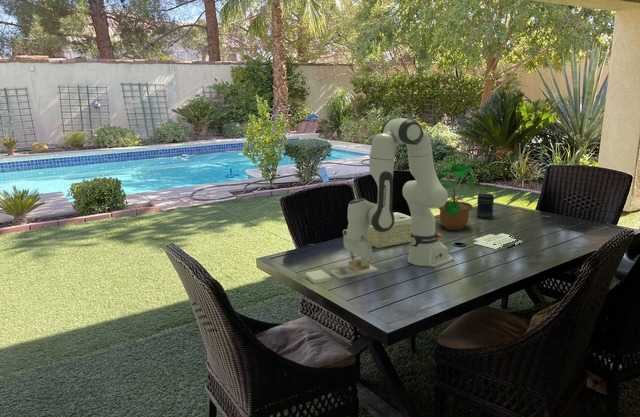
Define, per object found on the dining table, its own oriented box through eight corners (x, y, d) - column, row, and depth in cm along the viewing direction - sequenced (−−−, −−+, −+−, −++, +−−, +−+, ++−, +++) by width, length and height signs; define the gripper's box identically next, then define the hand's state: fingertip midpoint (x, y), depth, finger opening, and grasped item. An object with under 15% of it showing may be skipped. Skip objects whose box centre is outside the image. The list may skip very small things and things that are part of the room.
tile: (321, 269, 216) (305, 272, 213) (330, 276, 207) (314, 280, 204) (321, 274, 217) (305, 277, 213) (330, 281, 208) (314, 284, 205)
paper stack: (466, 243, 256) (467, 236, 255) (496, 235, 273) (496, 229, 272) (501, 252, 240) (501, 245, 239) (529, 243, 257) (530, 236, 256)
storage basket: (396, 235, 271) (396, 210, 268) (413, 243, 257) (414, 216, 254) (361, 242, 261) (360, 216, 257) (377, 250, 247) (377, 223, 243)
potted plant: (441, 219, 304) (443, 158, 294) (483, 227, 283) (486, 162, 274) (412, 228, 283) (414, 163, 274) (455, 238, 263) (458, 168, 253)
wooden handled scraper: (365, 265, 222) (365, 257, 221) (371, 268, 218) (371, 260, 217) (334, 271, 215) (333, 263, 214) (339, 275, 211) (338, 266, 210)
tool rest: (367, 265, 225) (367, 263, 225) (377, 271, 217) (377, 269, 217) (330, 272, 217) (330, 270, 217) (339, 279, 209) (339, 277, 209)
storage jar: (491, 216, 308) (493, 193, 304) (493, 220, 298) (494, 197, 295) (475, 215, 310) (476, 193, 307) (477, 219, 301) (478, 196, 297)
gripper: (375, 238, 206) (375, 268, 209) (352, 227, 224) (352, 255, 227) (363, 240, 203) (363, 271, 206) (340, 229, 221) (341, 257, 224)
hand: (357, 262), depth 217 cm, fingers open, 8 cm apart
